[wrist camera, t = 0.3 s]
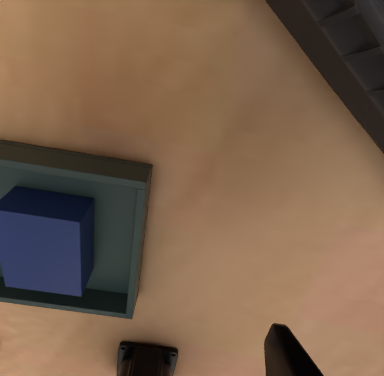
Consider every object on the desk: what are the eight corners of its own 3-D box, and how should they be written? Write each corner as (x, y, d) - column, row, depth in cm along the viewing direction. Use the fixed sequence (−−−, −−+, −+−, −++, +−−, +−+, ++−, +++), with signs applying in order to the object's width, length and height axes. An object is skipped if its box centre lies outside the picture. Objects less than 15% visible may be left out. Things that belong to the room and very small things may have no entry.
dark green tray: (137, 294, 29) (132, 319, 27) (-12, 273, 29) (-32, 297, 26) (152, 164, 22) (146, 182, 20) (-45, 131, 22) (-76, 146, 19)
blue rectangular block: (94, 268, 27) (81, 297, 24) (25, 258, 27) (5, 286, 24) (94, 197, 23) (79, 222, 20) (15, 185, 23) (-11, 208, 20)
